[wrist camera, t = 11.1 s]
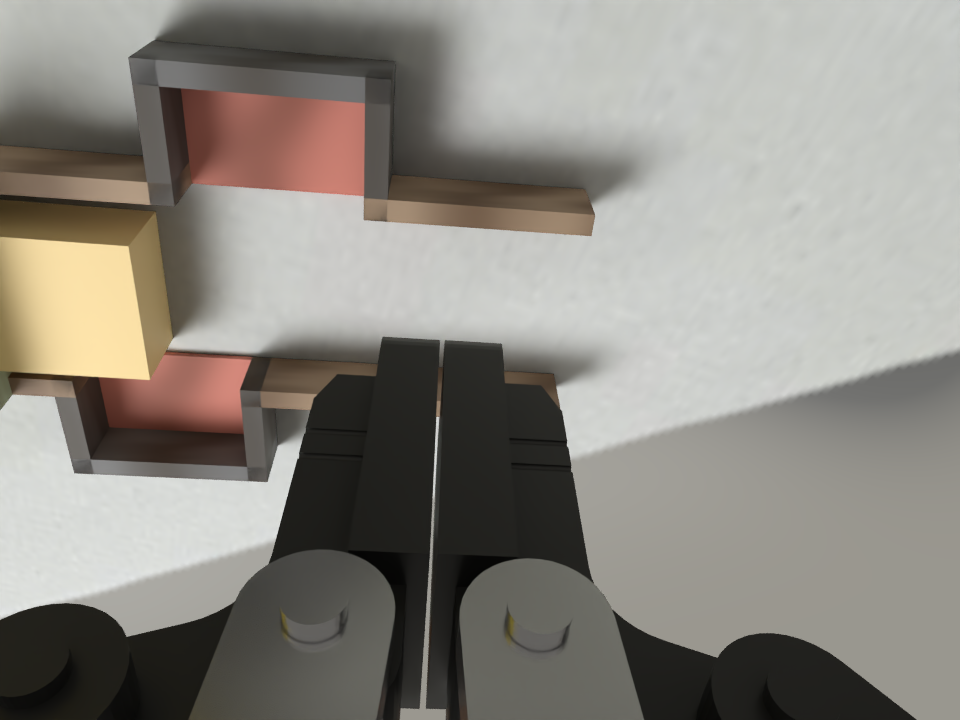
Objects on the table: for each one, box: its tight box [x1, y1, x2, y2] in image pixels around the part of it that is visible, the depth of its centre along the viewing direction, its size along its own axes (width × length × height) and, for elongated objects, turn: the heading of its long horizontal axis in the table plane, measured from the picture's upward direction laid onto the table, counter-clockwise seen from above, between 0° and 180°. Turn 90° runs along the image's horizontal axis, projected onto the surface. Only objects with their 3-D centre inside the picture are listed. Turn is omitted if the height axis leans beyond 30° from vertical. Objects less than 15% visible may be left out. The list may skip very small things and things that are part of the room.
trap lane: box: [0, 41, 595, 482], centre depth 36 cm, size 28×22×7 cm
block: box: [0, 200, 173, 380], centre depth 37 cm, size 7×7×4 cm
